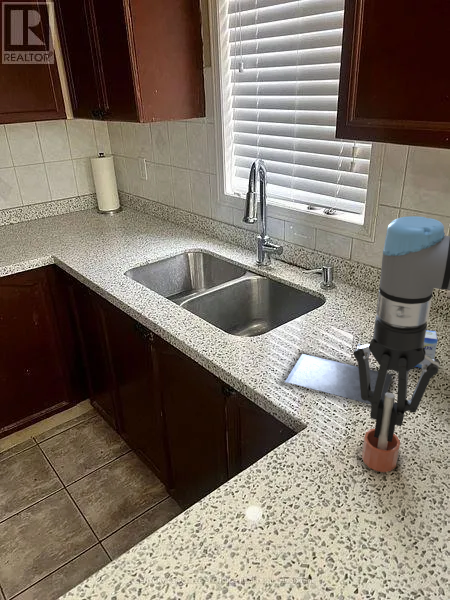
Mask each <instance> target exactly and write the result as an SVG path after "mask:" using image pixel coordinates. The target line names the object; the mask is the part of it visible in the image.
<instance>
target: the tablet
mask: <svg viewBox="0 0 450 600" xmlns="http://www.w3.org/2000/svg"><path fill="white" fill-rule="evenodd" d="M369 370H370V383H371V391H373V392H374V390H375V385H376V381H377V377H378V372H379V370H373V369H369ZM392 377H393V374H391V373H387V375H386V379H385V383H384V387H383V391H382V396H381V399H384V397H385V394H386V393H389V388H390V386H391V381H392ZM284 383H287V384H291V385H295V386H298V387H301V388H302V387H303V388H306V389H310V390H313V391H317V392H321V393H325V394H329V395H333V396H336V397H340V398H344V399H348V400H351V401H355V402H359V403H363V404H367V405H369V406H370V405H371V403H370V402H369V401H368V400H367V401H365V400H362V398H361V390H360V379H359V368H358V365H357V366H356V365H352V364H347V363H344V362H339V361H335V360H331V359H325V358H322V357H317V356H314V355H309V354H304V353H302V354H301V355H300V357H299V358H298V360H297V362H296V363H295V364H294V366H293V368H292V369H291V371H290V373H289V374H288V376H287V377H286V379H285V380H284Z"/></svg>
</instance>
